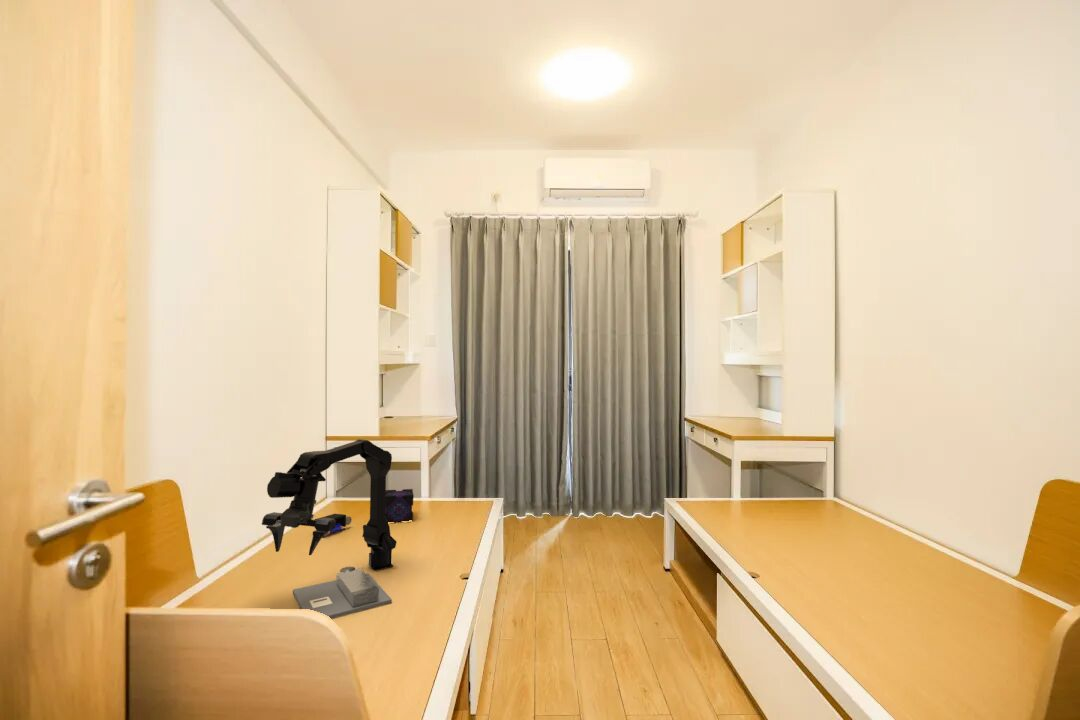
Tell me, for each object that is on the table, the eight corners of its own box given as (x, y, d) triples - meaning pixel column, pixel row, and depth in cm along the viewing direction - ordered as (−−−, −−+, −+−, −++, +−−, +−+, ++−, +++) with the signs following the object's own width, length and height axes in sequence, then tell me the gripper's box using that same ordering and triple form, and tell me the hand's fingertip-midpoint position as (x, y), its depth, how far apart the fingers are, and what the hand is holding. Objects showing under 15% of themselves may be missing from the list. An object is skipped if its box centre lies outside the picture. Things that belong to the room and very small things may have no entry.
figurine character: (338, 530, 204) (311, 536, 190) (340, 511, 205) (314, 516, 191) (351, 532, 202) (325, 538, 188) (353, 513, 203) (327, 518, 189)
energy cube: (384, 516, 221) (385, 490, 221) (411, 514, 224) (412, 488, 225) (384, 524, 209) (385, 496, 210) (412, 522, 213) (413, 495, 213)
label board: (368, 576, 155) (368, 572, 155) (391, 602, 137) (391, 599, 137) (292, 592, 142) (292, 589, 142) (307, 624, 124) (308, 620, 124)
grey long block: (333, 579, 149) (334, 569, 149) (356, 574, 153) (357, 564, 153) (352, 606, 132) (353, 595, 132) (378, 600, 136) (378, 589, 136)
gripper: (257, 496, 130) (244, 556, 127) (326, 503, 131) (315, 563, 128) (277, 492, 141) (265, 547, 138) (341, 499, 142) (330, 554, 139)
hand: (293, 553), depth 136 cm, fingers open, 9 cm apart
